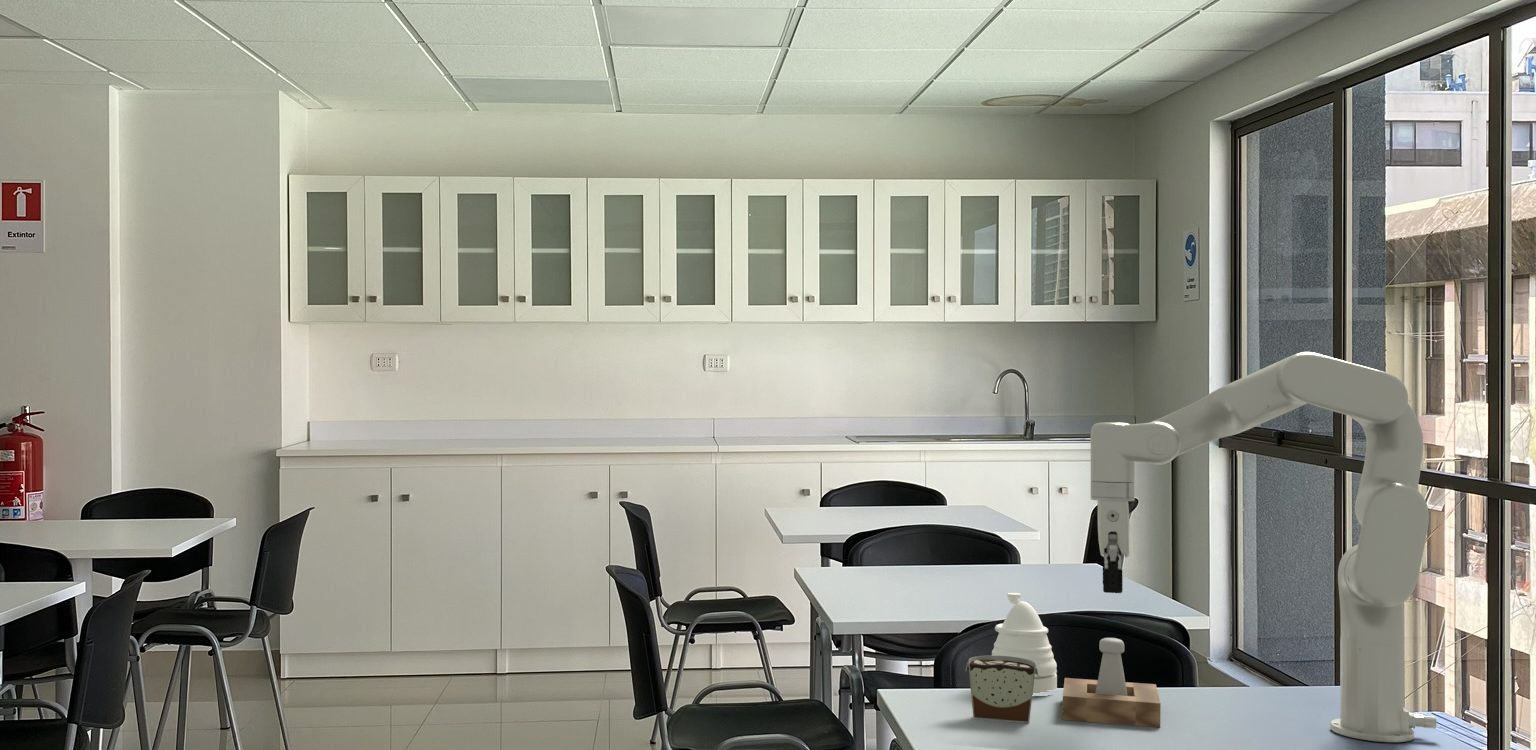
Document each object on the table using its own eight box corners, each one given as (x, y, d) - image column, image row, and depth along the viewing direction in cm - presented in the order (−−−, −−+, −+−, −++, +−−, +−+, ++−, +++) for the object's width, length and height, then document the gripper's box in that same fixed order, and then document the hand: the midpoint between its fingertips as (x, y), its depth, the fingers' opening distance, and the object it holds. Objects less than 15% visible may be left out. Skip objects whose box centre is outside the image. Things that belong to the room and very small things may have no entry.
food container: (1040, 716, 212) (1040, 657, 212) (1038, 724, 206) (1038, 664, 206) (968, 710, 215) (969, 652, 215) (964, 718, 209) (965, 659, 209)
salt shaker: (1129, 718, 211) (1129, 642, 212) (1094, 715, 213) (1095, 640, 213) (1127, 710, 217) (1127, 637, 217) (1093, 708, 218) (1094, 635, 219)
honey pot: (975, 689, 232) (976, 594, 233) (1008, 679, 242) (1009, 588, 243) (1036, 700, 224) (1038, 601, 225) (1068, 689, 234) (1069, 595, 235)
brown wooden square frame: (1155, 706, 221) (1155, 684, 221) (1160, 727, 205) (1160, 703, 205) (1064, 699, 225) (1064, 677, 225) (1062, 719, 209) (1062, 695, 209)
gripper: (1136, 495, 207) (1136, 596, 206) (1132, 490, 224) (1132, 584, 223) (1090, 493, 209) (1090, 594, 208) (1090, 489, 226) (1090, 582, 225)
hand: (1112, 589), depth 216 cm, fingers open, 9 cm apart
